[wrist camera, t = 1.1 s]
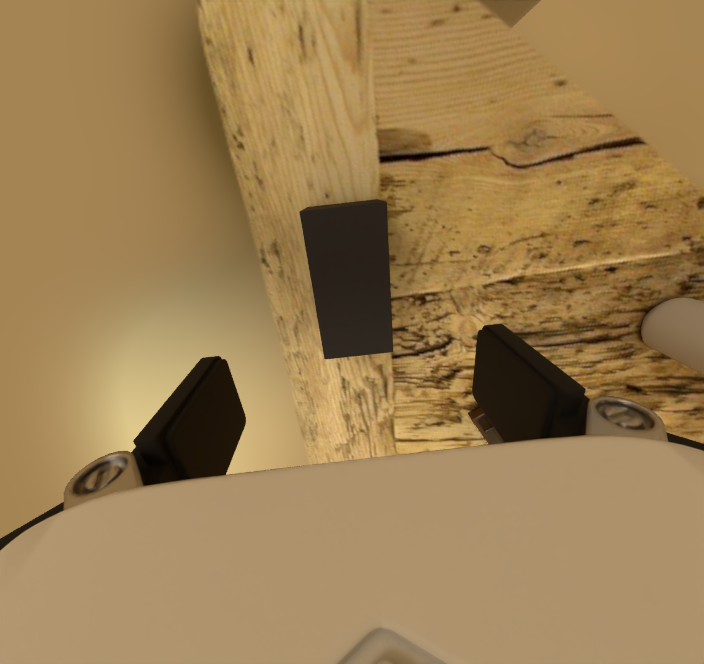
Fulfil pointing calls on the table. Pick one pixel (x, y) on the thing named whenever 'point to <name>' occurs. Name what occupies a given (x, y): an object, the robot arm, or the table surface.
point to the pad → (350, 276)
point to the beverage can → (677, 331)
